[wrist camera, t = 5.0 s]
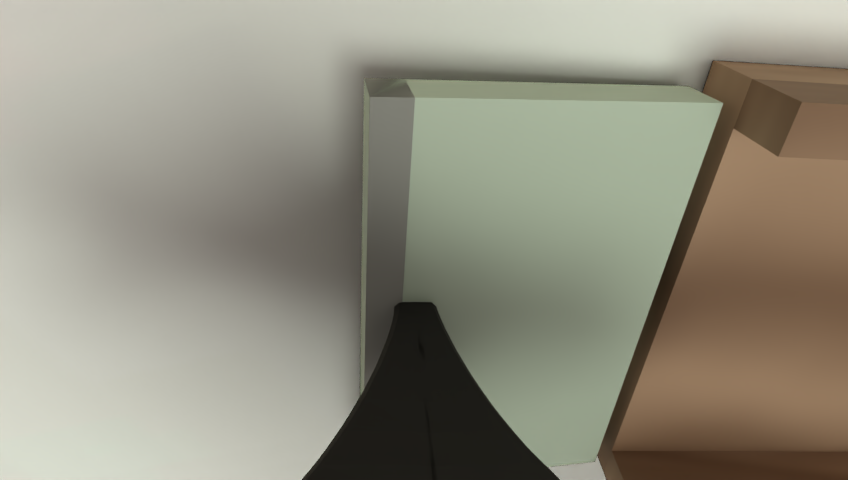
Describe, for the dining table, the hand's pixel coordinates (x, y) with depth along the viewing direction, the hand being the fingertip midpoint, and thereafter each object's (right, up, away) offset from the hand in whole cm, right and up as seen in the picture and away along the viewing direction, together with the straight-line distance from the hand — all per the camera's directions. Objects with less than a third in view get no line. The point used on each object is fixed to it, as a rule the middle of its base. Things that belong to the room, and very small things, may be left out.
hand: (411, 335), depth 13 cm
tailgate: (+6, 0, +1) cm, 6 cm away
